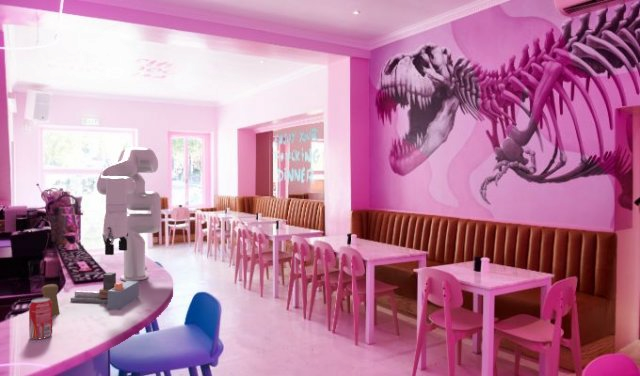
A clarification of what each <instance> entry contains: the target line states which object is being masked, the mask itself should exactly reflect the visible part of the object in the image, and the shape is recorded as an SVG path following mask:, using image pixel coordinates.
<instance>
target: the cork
mask: <svg viewBox="0 0 640 376" xmlns="http://www.w3.org/2000/svg"><path fill="white" fill-rule="evenodd" d="M58 292H59V286H58V284H56V283H55V284H54V283H50V284H46V285H43V286H42V287H41V293H42V295H43V296H42V298H50V301H51V302H52V318H53V317H56V316H59V315H60V306H59V301H58V295H57V294H58Z"/></svg>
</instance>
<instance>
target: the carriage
mask: <svg viewBox="0 0 640 376" xmlns="http://www.w3.org/2000/svg"><path fill="white" fill-rule="evenodd" d="M102 277H103V286H102V288H100V289H99V290H98V292H99V298H108V291H109V290H111V289H113V288H114V284H115V283H117V273H116V272H106V273H104V274H103V276H102Z"/></svg>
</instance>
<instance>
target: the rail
mask: <svg viewBox="0 0 640 376" xmlns="http://www.w3.org/2000/svg"><path fill="white" fill-rule="evenodd" d="M70 303H85V304H86V303H91V304H108V298H99V290H98V291H95V290H93V291H91V290H75V291H74V296H72V297H70Z"/></svg>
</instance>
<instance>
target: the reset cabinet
mask: <svg viewBox="0 0 640 376" xmlns="http://www.w3.org/2000/svg"><path fill="white" fill-rule="evenodd" d="M122 283H123V289H122V290H114V288H113V289H111V290H109V291H108V303H107V310H123V309H124V308H125V307H127V306H129V305H130V304H131V303H133V302H134V301H135V302H136V300H138V299H140V285H139V284H140V280H139V281H123V282H122Z"/></svg>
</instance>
